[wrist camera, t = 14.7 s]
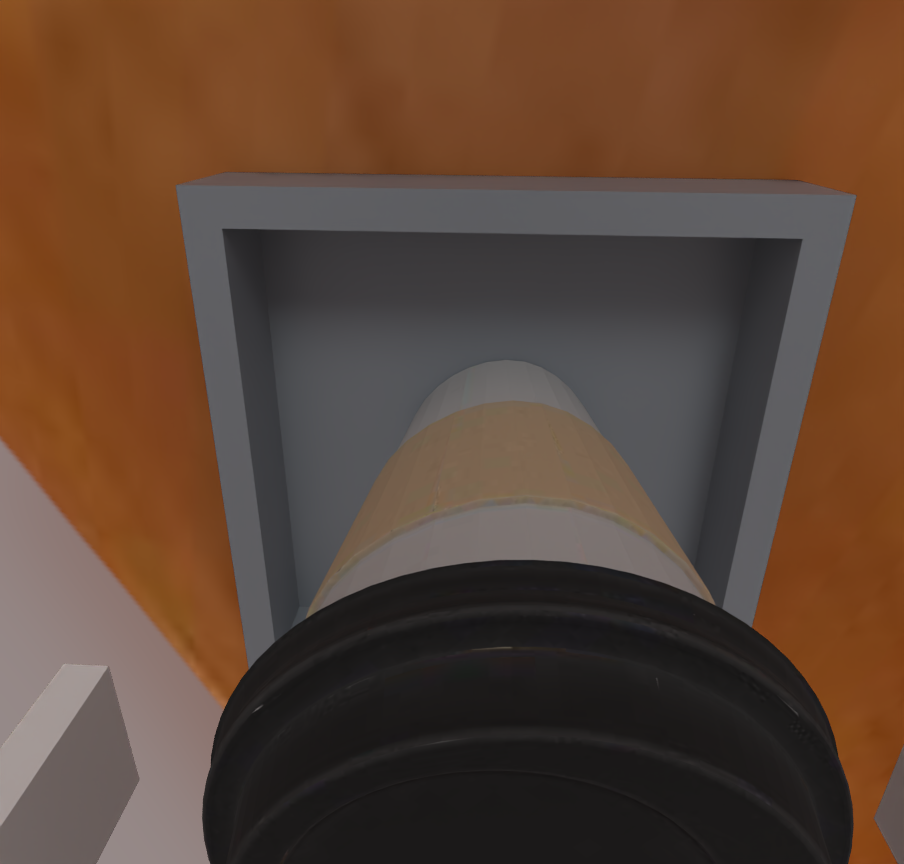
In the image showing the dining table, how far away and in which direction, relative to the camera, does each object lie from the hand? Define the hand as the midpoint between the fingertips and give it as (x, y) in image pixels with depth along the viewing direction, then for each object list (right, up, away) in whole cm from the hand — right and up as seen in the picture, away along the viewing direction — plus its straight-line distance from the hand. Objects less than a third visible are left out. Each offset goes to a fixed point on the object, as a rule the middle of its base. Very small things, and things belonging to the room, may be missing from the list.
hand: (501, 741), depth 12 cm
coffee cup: (+1, +5, +11) cm, 12 cm away
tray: (+1, +5, +11) cm, 13 cm away
